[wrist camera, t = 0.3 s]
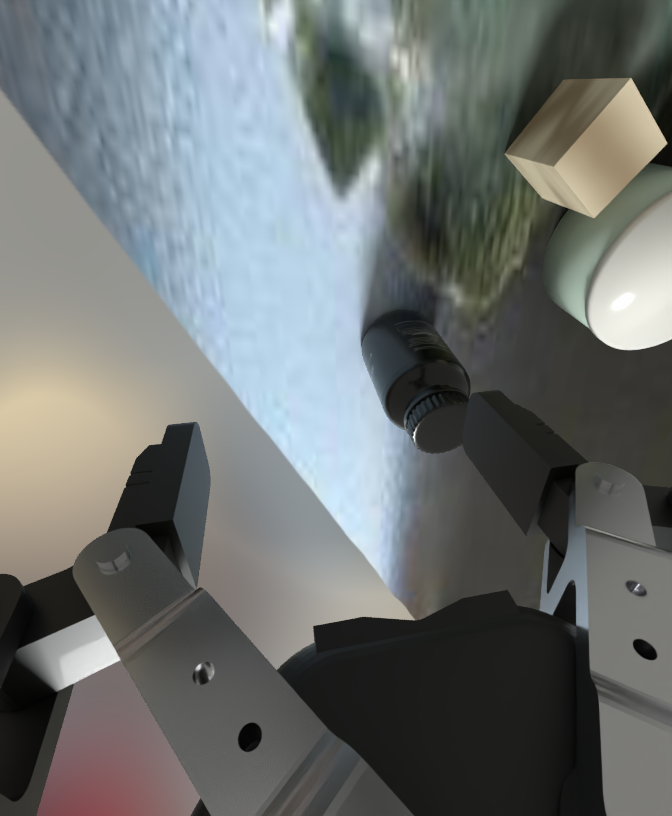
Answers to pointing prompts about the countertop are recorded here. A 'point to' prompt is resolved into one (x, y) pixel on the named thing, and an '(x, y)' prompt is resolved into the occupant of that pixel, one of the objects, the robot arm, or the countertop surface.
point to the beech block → (587, 143)
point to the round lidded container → (618, 264)
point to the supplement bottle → (417, 380)
